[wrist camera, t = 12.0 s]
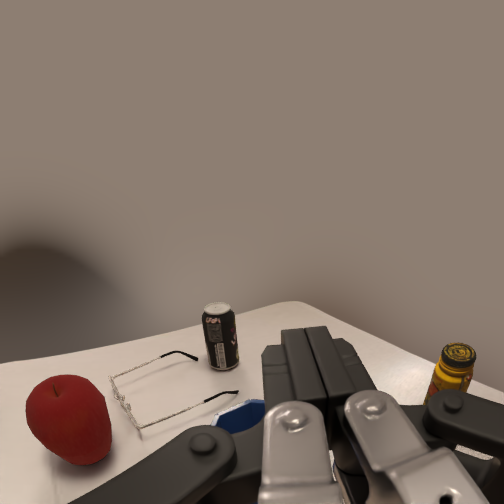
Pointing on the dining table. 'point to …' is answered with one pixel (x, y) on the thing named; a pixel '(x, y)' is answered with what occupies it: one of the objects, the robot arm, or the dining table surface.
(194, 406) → the eyeglasses
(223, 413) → the glazed bowl
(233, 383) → the dining table surface
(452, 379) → the condiment
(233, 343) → the beverage can
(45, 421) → the apple
